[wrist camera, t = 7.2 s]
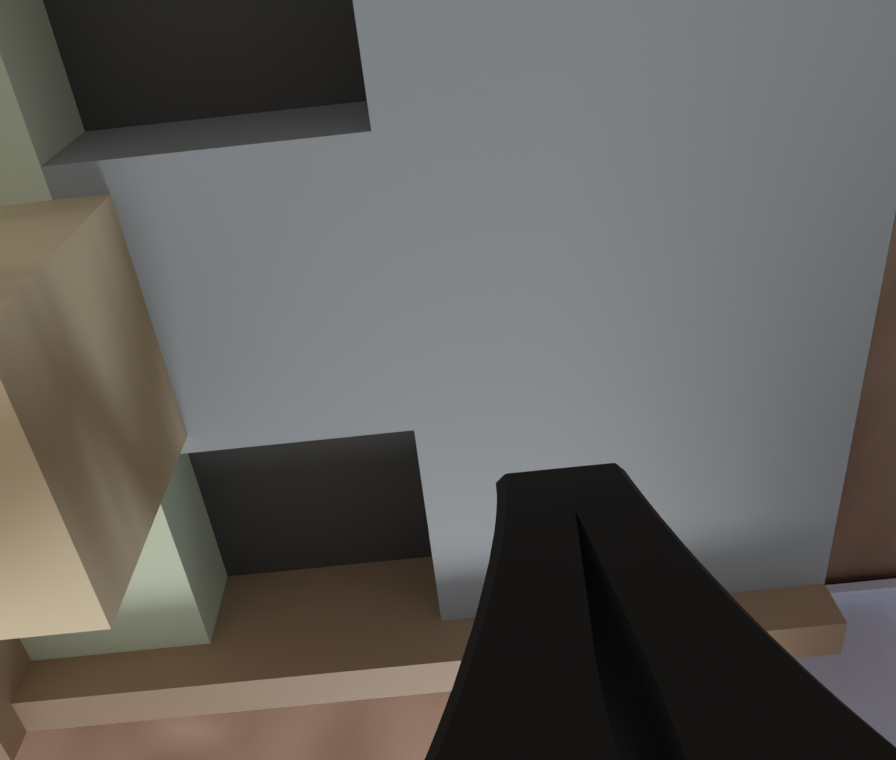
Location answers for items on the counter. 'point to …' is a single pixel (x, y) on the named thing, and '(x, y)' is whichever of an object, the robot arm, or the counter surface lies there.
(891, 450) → the counter surface
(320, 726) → the counter surface
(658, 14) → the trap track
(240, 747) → the counter surface
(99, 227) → the wood block
